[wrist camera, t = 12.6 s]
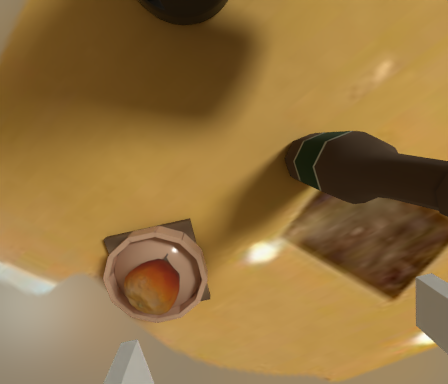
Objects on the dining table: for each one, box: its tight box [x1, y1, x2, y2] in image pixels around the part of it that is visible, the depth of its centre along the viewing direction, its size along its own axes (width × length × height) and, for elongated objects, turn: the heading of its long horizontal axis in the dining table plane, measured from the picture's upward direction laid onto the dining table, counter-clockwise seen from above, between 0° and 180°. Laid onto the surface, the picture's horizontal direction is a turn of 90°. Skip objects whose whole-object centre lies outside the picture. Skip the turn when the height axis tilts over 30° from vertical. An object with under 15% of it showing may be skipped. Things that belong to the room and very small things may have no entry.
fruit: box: [124, 253, 180, 315], centre depth 34 cm, size 8×8×8 cm
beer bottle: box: [285, 131, 448, 216], centre depth 24 cm, size 8×8×24 cm
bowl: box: [103, 226, 208, 323], centre depth 37 cm, size 16×16×2 cm
